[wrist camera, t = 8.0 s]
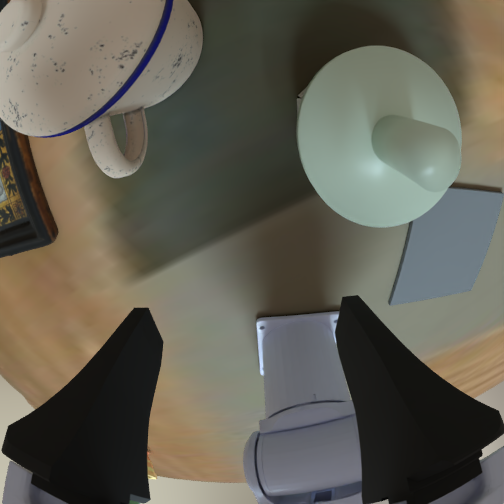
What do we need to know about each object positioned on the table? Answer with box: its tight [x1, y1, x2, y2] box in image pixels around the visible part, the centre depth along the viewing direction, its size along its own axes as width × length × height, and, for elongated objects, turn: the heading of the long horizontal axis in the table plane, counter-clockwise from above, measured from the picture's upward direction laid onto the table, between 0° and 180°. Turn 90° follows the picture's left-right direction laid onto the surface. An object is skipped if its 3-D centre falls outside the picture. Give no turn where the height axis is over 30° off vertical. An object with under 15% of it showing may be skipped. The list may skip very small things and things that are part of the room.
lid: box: [296, 46, 462, 228], centre depth 10 cm, size 10×10×5 cm
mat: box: [389, 187, 504, 305], centre depth 20 cm, size 12×12×1 cm
